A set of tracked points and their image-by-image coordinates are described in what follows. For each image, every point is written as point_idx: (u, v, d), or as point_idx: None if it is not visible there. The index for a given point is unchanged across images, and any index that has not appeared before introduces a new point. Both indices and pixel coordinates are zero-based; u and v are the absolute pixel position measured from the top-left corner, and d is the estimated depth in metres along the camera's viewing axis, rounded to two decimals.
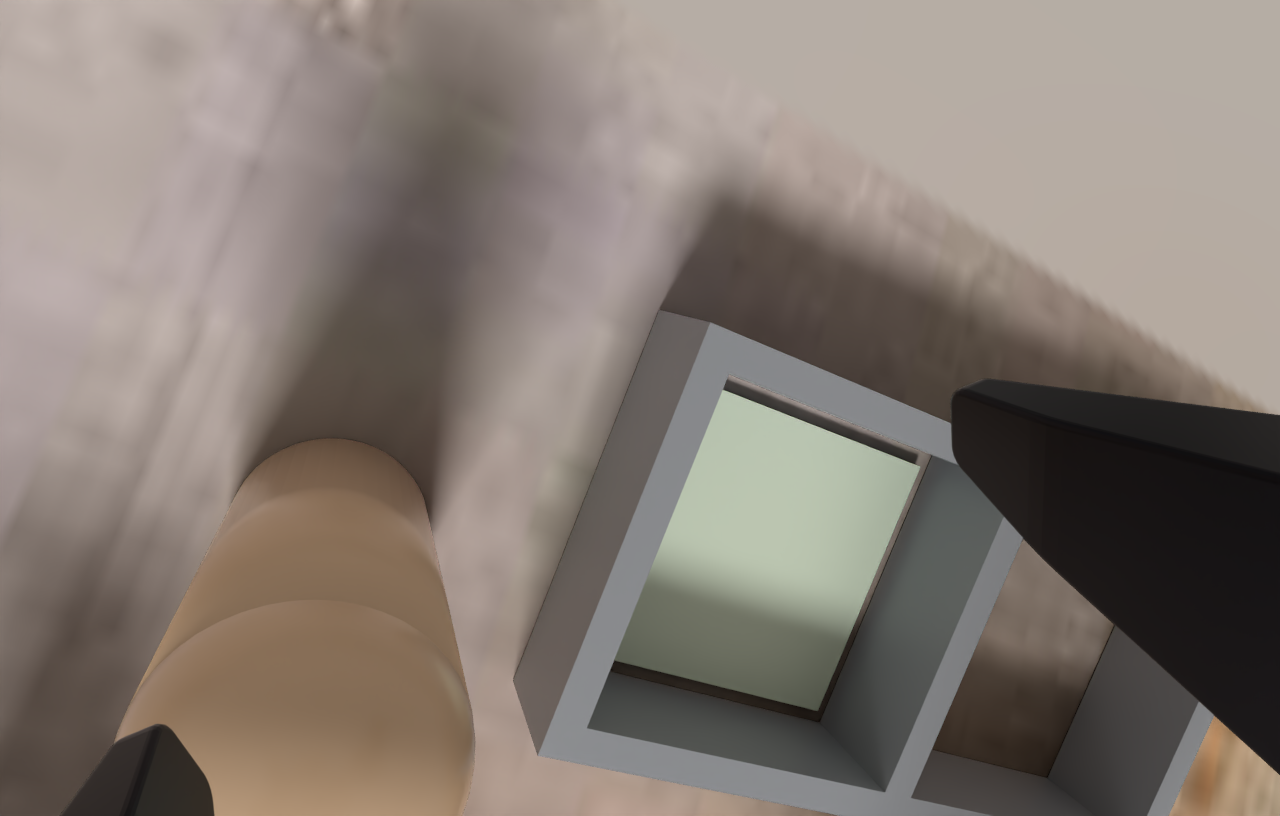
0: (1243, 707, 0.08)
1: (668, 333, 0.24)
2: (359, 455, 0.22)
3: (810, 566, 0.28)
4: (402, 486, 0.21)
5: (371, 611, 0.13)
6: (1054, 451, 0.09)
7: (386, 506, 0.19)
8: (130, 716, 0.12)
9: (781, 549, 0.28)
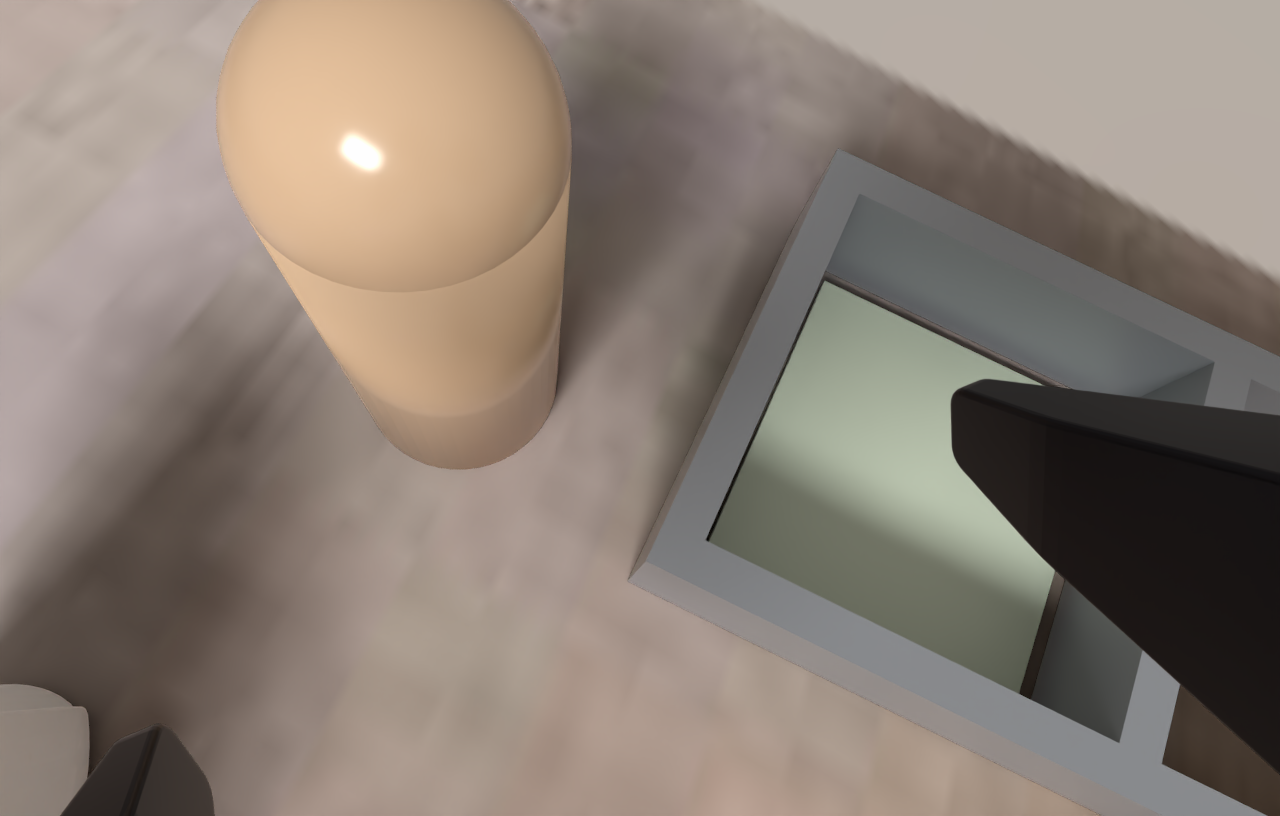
0: (1243, 707, 0.08)
1: (801, 214, 0.25)
2: None
3: (980, 505, 0.24)
4: None
5: None
6: (1054, 451, 0.09)
7: None
8: None
9: (942, 478, 0.24)
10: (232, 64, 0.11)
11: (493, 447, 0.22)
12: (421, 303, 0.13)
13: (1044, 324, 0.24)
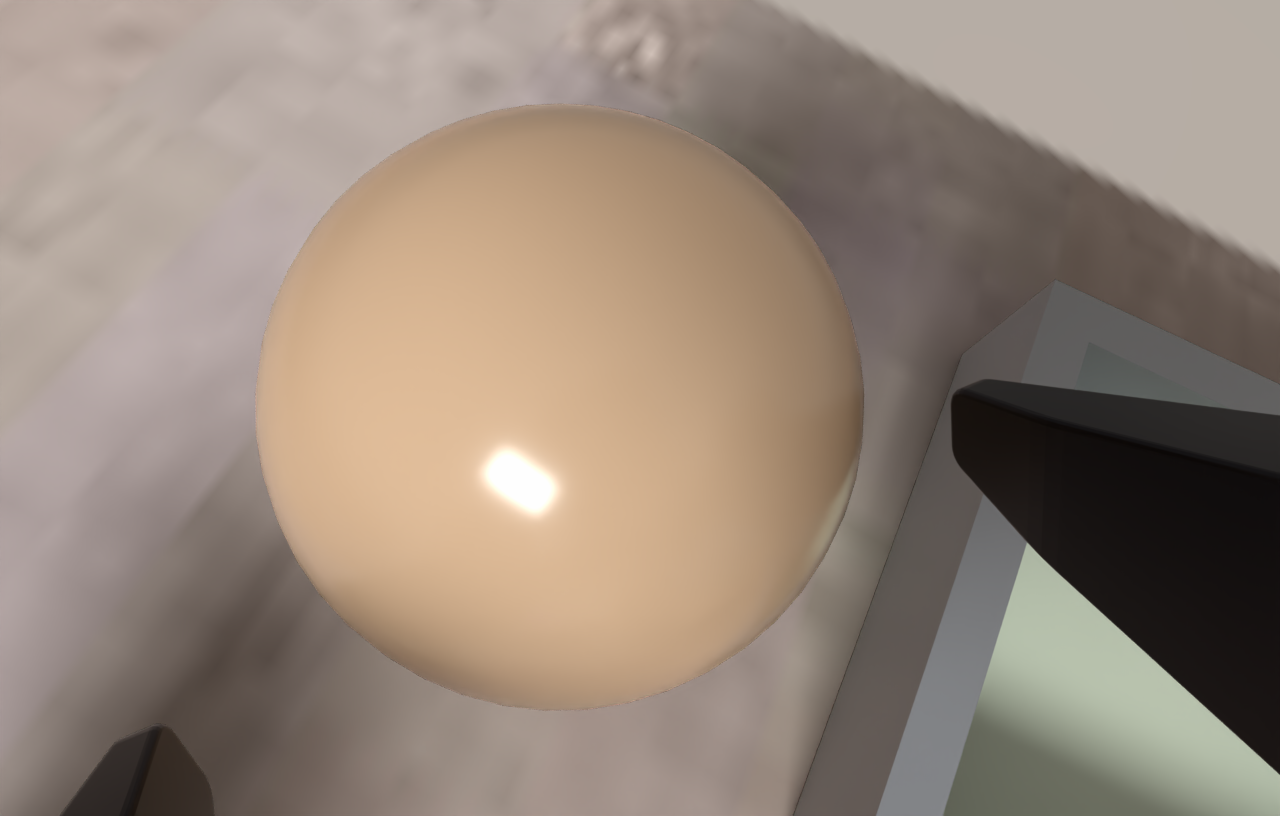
0: (1243, 707, 0.08)
1: (984, 351, 0.19)
2: None
3: (1229, 736, 0.18)
4: None
5: None
6: (1054, 451, 0.09)
7: None
8: None
9: (1178, 700, 0.18)
10: (290, 345, 0.06)
11: None
12: None
13: None
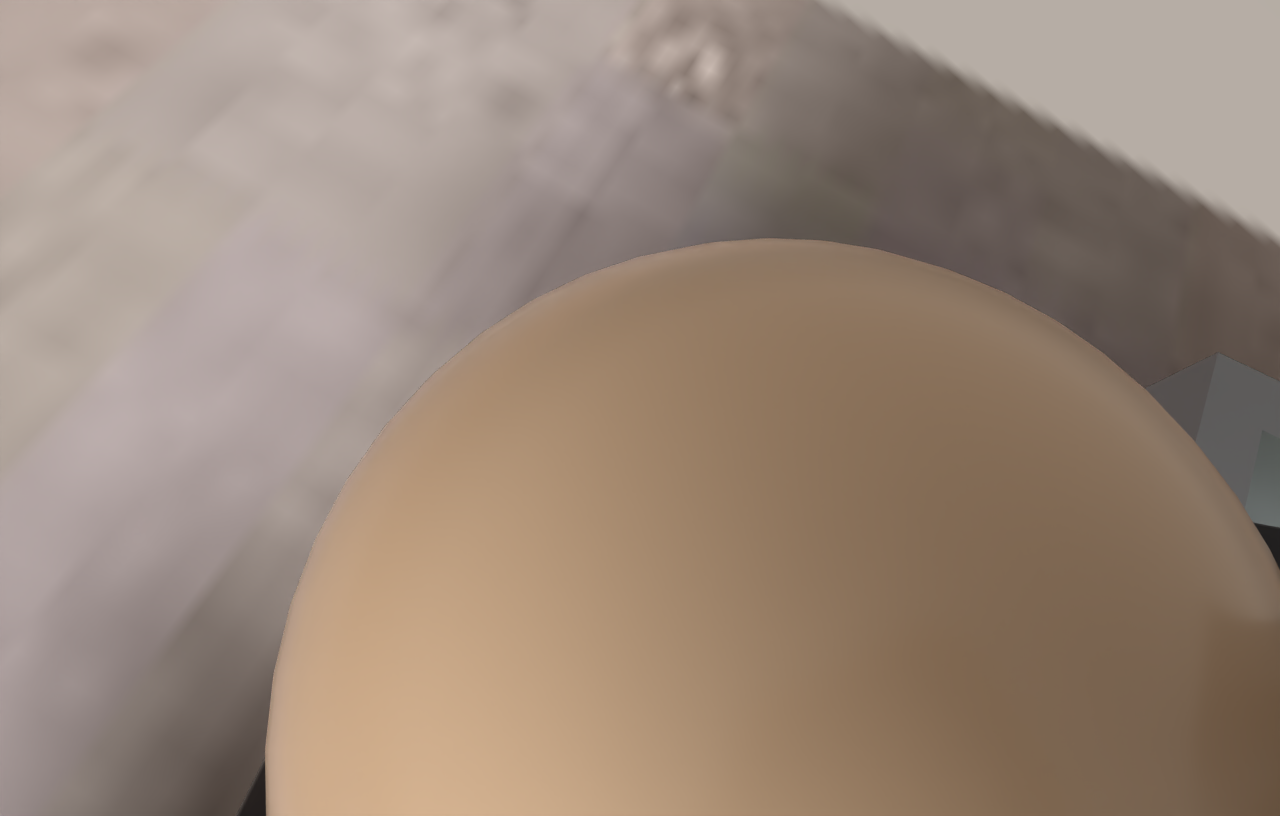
0: None
1: None
2: None
3: None
4: None
5: None
6: None
7: None
8: None
9: None
10: (338, 759, 0.03)
11: None
12: None
13: None
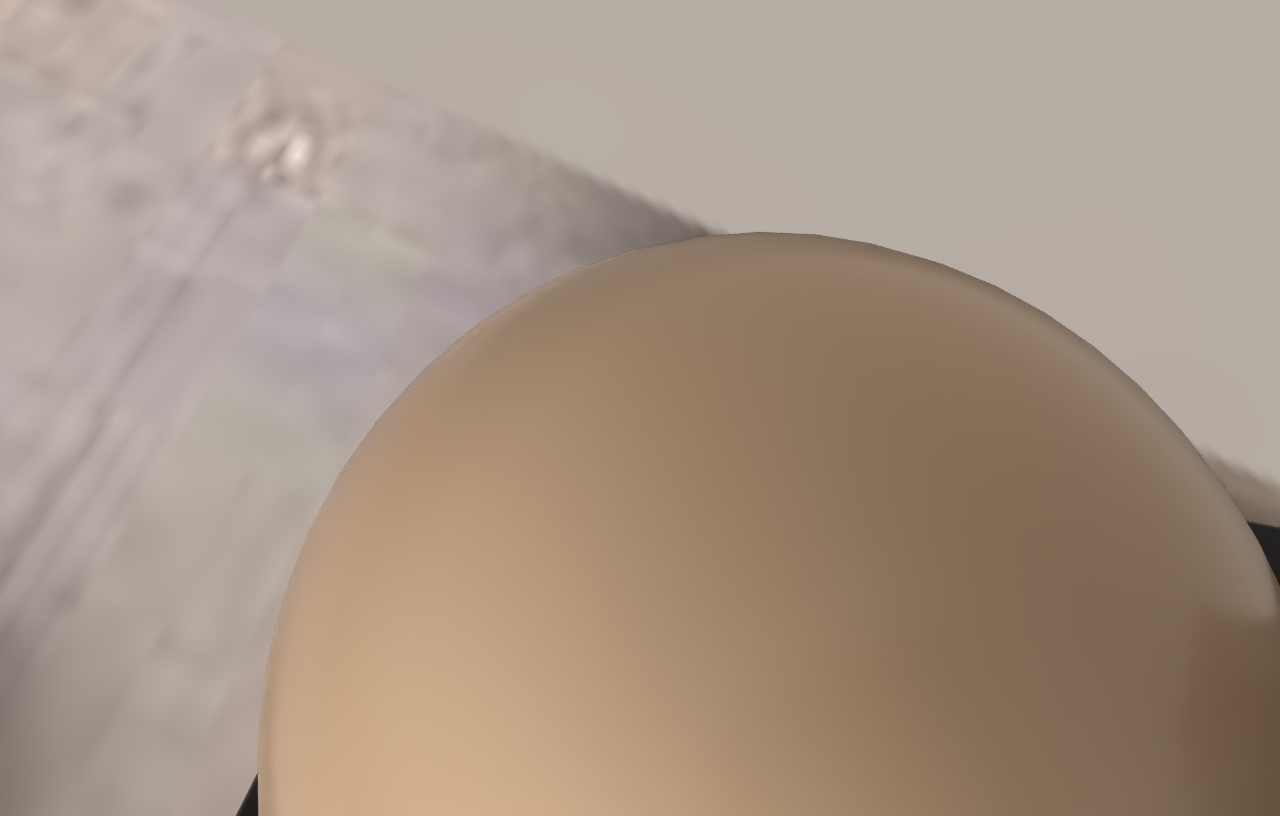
0: None
1: None
2: None
3: None
4: None
5: None
6: None
7: None
8: None
9: None
10: (327, 749, 0.03)
11: None
12: None
13: None
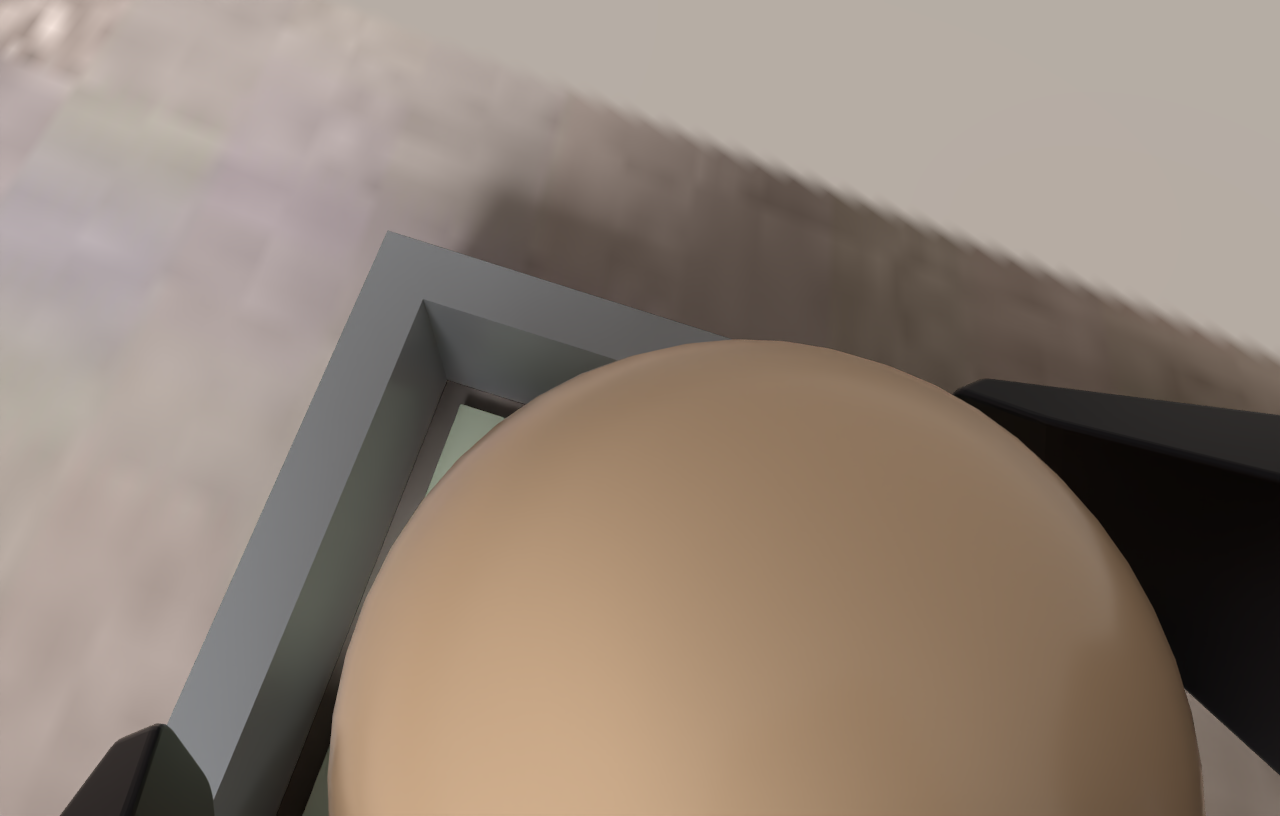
0: (1243, 707, 0.08)
1: None
2: None
3: None
4: None
5: None
6: (1054, 451, 0.09)
7: None
8: (441, 478, 0.05)
9: None
10: (403, 795, 0.04)
11: None
12: None
13: None
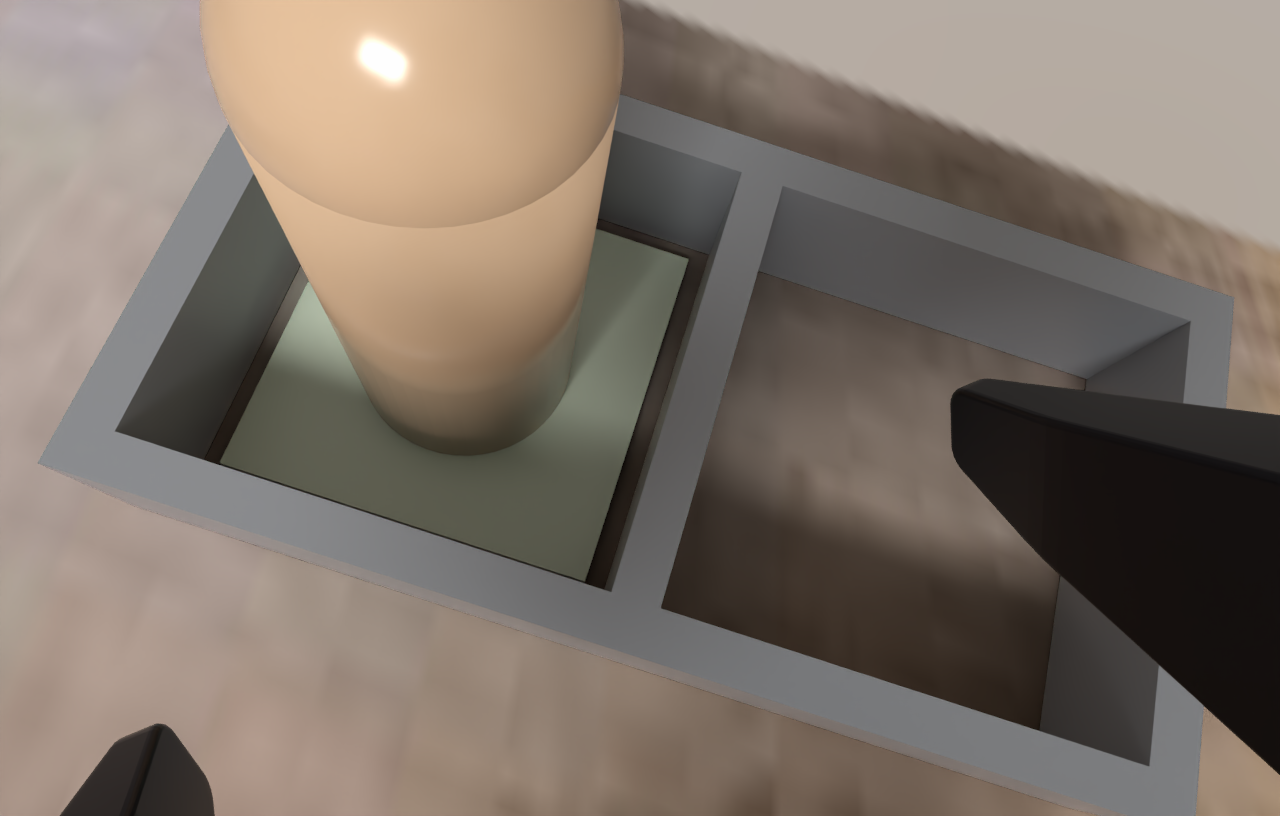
0: (1243, 707, 0.08)
1: None
2: None
3: None
4: None
5: None
6: (1054, 451, 0.09)
7: None
8: None
9: None
10: None
11: (503, 430, 0.19)
12: (445, 244, 0.11)
13: None
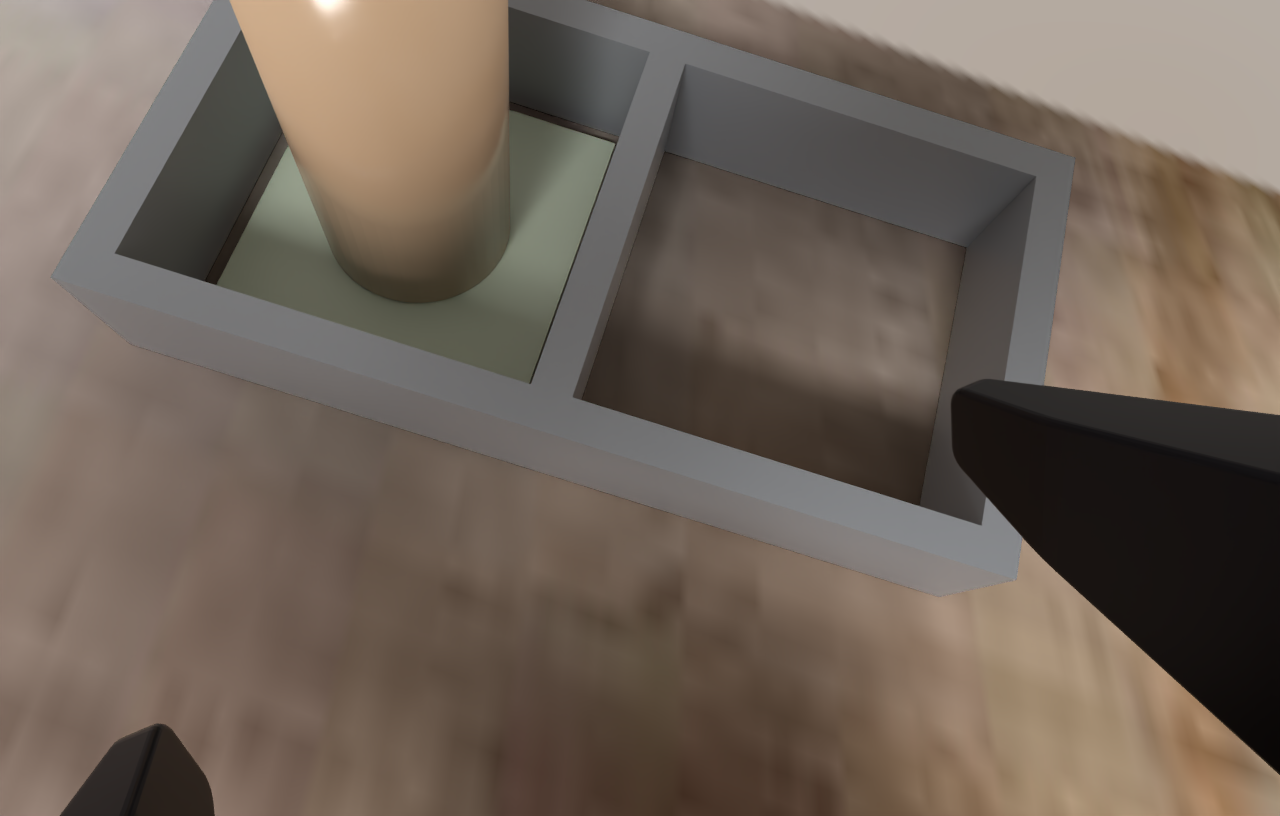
0: (1244, 707, 0.08)
1: None
2: None
3: None
4: None
5: None
6: (1054, 451, 0.09)
7: None
8: None
9: None
10: None
11: (448, 270, 0.23)
12: (368, 20, 0.14)
13: (518, 53, 0.25)
